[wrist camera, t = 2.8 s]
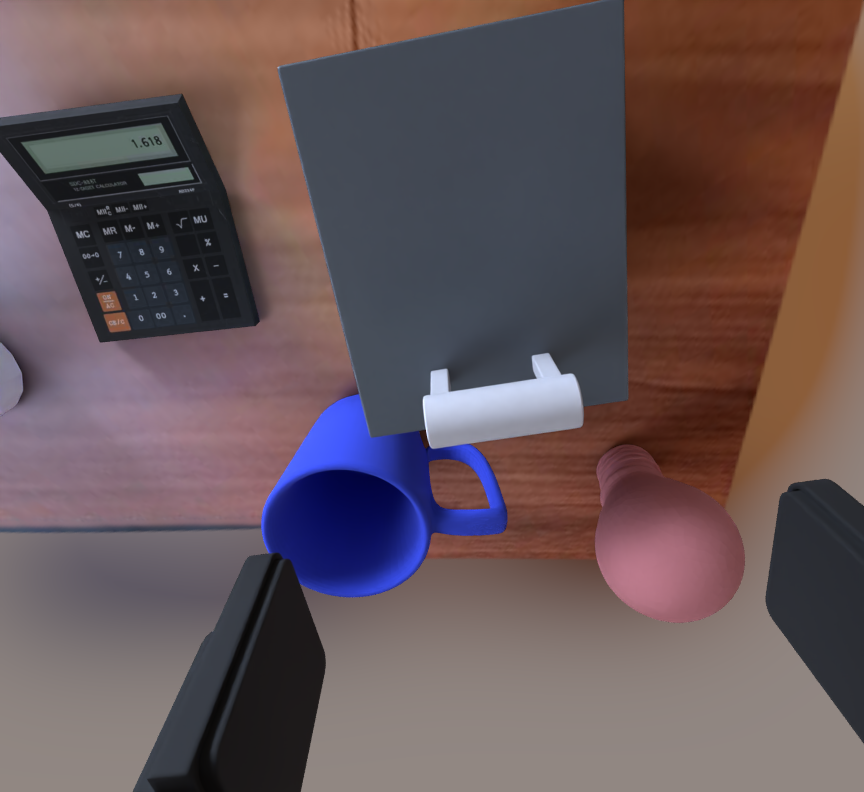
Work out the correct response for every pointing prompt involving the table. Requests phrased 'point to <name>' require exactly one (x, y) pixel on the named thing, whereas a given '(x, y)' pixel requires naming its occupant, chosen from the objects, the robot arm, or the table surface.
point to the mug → (367, 505)
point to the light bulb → (664, 541)
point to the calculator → (136, 215)
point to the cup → (9, 381)
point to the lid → (475, 220)
